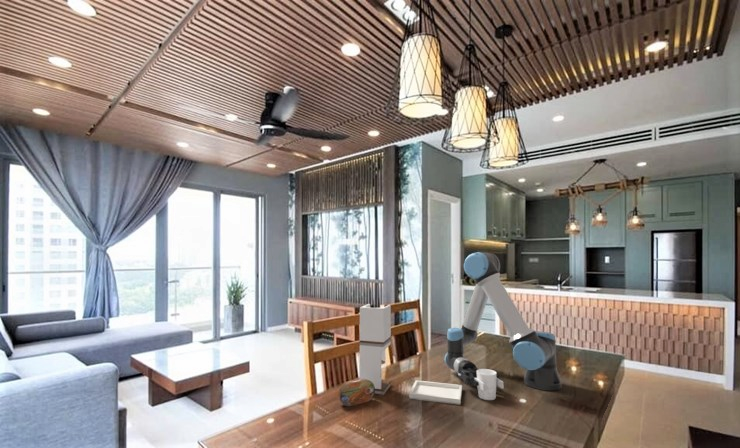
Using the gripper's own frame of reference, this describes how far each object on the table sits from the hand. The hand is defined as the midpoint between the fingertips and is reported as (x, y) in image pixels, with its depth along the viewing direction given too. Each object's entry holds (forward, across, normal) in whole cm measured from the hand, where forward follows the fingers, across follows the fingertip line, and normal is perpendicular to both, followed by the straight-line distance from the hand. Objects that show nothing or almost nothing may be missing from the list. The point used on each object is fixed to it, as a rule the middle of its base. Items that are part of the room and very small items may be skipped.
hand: (493, 386), depth 144 cm
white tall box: (-24, +42, -6) cm, 49 cm away
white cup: (-5, 0, -6) cm, 8 cm away
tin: (-11, +53, -6) cm, 54 cm away
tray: (-12, +19, -6) cm, 23 cm away
